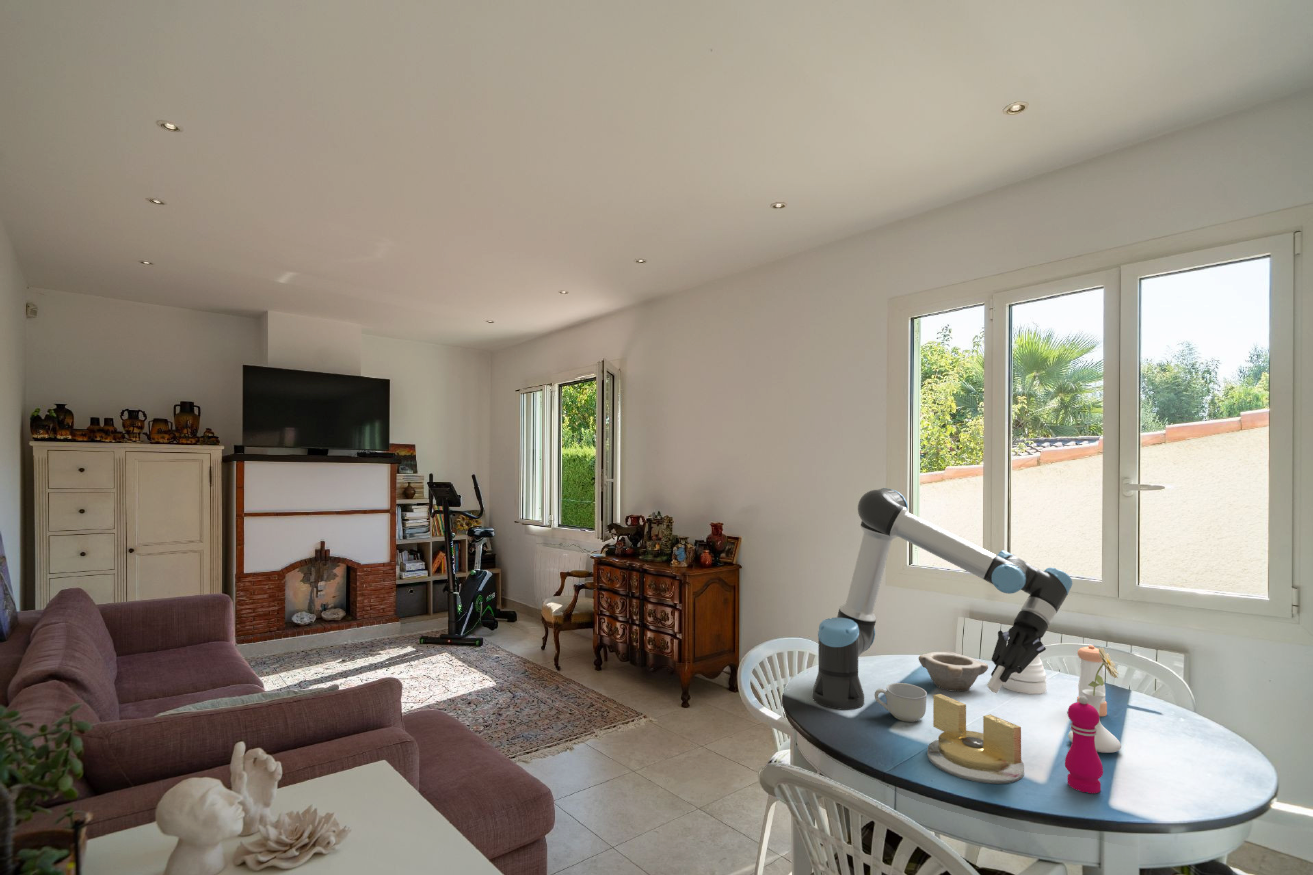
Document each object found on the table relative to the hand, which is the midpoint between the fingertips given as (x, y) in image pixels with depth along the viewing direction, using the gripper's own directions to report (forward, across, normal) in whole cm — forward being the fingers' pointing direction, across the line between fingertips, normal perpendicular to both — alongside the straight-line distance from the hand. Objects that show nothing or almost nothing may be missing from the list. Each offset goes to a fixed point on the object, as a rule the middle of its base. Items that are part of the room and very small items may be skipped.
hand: (991, 689), depth 174 cm
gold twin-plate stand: (+18, -7, +2) cm, 20 cm away
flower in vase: (-6, -13, -25) cm, 29 cm away
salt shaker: (-22, +3, -42) cm, 48 cm away
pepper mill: (+11, -25, -8) cm, 29 cm away
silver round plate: (+20, -7, +1) cm, 21 cm away
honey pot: (-23, +26, -43) cm, 55 cm away
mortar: (-8, +35, -27) cm, 45 cm away
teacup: (+16, +22, -3) cm, 28 cm away
